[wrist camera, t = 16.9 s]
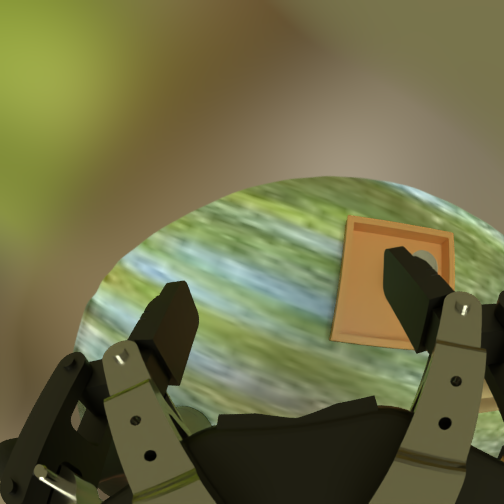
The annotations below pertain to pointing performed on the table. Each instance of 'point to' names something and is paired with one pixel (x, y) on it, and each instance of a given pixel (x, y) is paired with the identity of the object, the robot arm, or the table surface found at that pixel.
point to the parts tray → (380, 279)
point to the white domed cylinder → (427, 258)
